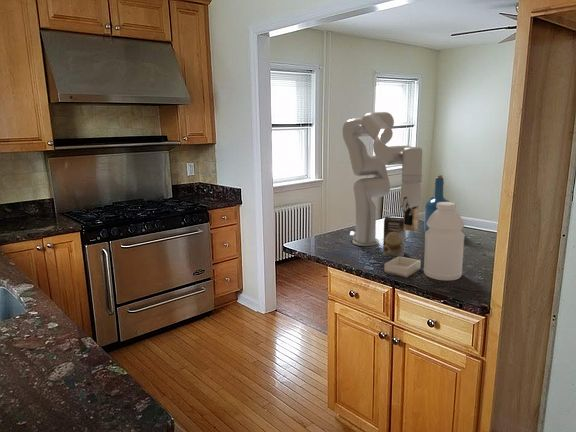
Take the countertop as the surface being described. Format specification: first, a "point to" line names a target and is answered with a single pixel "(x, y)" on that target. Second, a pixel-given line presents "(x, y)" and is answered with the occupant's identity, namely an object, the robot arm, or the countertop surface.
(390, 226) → the coffee box
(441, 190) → the wine bottle
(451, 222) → the bottle
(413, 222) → the tan rounded cylinder
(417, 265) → the white square tray
